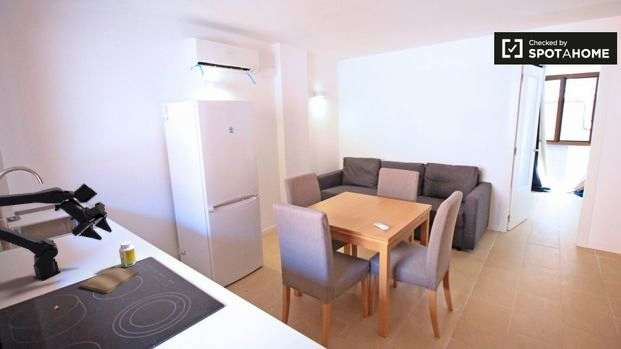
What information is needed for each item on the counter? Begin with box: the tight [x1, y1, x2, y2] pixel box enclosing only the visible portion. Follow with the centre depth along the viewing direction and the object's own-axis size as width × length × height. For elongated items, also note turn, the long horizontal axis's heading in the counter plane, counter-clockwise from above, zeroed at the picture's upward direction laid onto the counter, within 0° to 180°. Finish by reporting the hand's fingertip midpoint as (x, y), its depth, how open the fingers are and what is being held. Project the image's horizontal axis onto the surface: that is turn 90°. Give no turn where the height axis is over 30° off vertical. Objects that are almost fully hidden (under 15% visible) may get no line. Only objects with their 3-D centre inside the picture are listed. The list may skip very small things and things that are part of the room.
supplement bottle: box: [118, 240, 137, 268], centre depth 133 cm, size 6×6×10 cm
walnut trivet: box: [80, 266, 140, 294], centre depth 121 cm, size 14×14×1 cm
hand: (106, 235), depth 132 cm, fingers open, 9 cm apart
